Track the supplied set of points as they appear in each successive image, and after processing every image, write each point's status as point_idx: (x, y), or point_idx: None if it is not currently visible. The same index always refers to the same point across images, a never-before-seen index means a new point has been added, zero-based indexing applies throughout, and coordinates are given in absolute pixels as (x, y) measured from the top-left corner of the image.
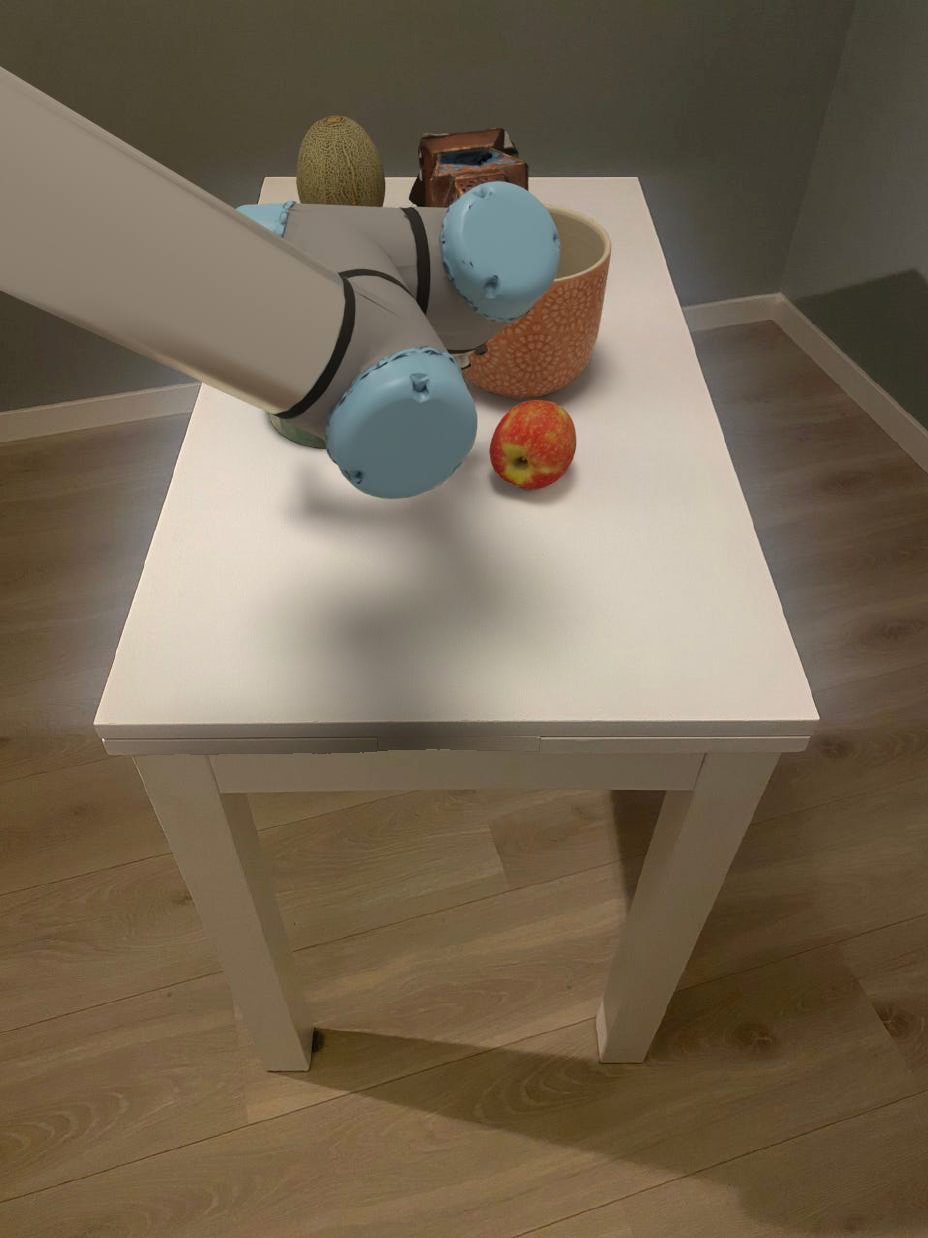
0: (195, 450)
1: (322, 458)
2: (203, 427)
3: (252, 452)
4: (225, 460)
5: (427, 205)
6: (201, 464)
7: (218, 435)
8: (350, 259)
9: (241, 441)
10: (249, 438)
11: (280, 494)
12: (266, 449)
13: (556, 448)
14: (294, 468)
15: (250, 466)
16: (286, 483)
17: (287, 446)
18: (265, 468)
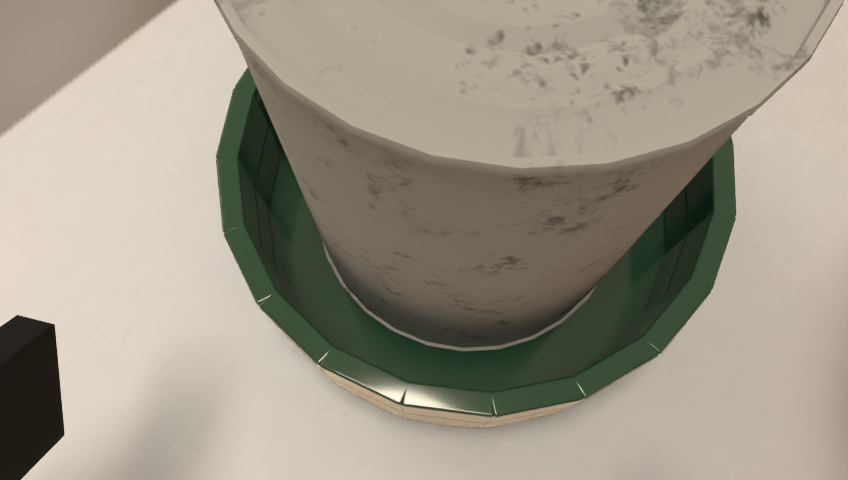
0: (45, 112)
1: (267, 391)
2: (132, 46)
3: (142, 221)
4: (65, 200)
5: None
6: (9, 172)
7: (134, 98)
8: None
9: (158, 160)
10: (183, 163)
11: (49, 450)
12: (180, 237)
13: None
14: (171, 371)
15: (91, 271)
16: (101, 417)
17: (233, 267)
18: (113, 309)
